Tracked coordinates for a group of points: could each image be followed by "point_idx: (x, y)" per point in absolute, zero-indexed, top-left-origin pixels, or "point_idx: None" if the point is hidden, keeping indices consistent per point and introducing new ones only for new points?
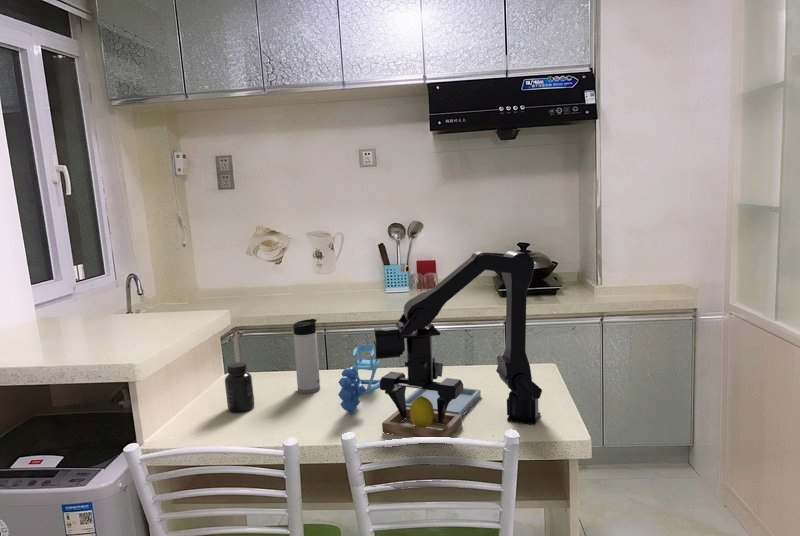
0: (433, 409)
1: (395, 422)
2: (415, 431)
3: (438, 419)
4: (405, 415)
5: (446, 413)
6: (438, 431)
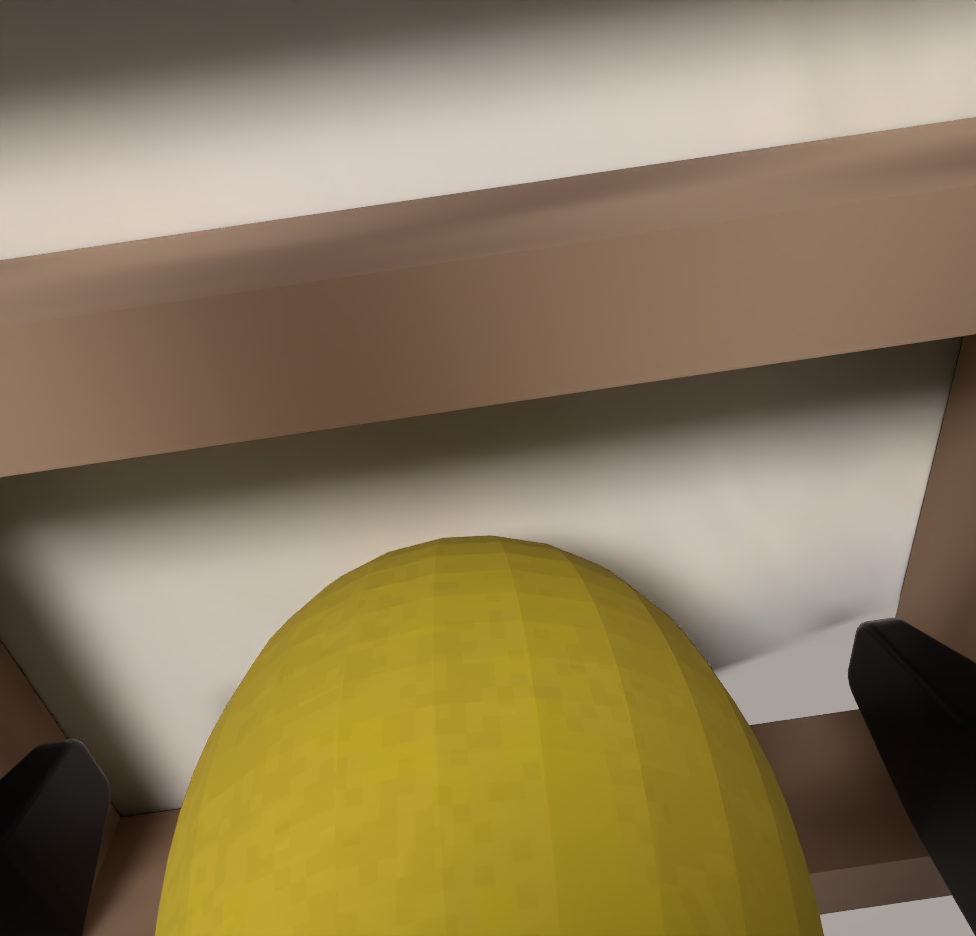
0: (805, 865)
1: (2, 757)
2: None
3: (906, 805)
4: (68, 784)
5: (921, 236)
6: (926, 886)
